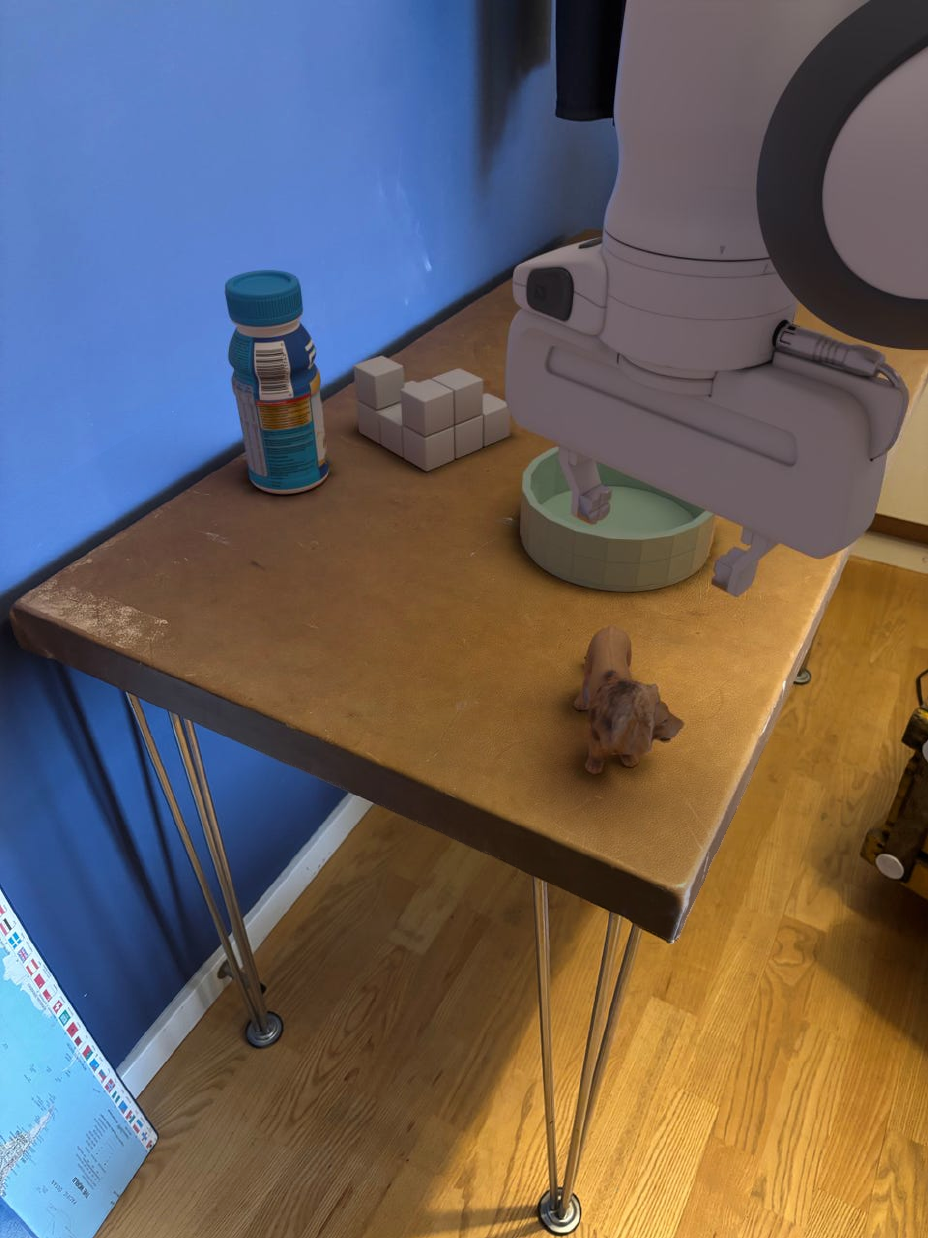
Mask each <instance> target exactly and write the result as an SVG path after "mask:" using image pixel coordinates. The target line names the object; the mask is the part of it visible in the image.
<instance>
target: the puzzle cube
mask: <svg viewBox="0 0 928 1238" xmlns="http://www.w3.org/2000/svg"><path fill="white" fill-rule="evenodd" d="M404 370H405V369H404V366H403V364H399V363H398V362H396V361H393V360H392V359H390V358H388V357H385V356H383V355H379V356H376V357H374V358H371V359H367V360H364V361H362V362H358V363H356V364H354V365H353V376H354V387H355V398H356V410H357V412H356V413H357V423H358V432H359V433H360V434H361V435H362V436H365V437H367V438H368V439H370V440H372V441H374V442H375V443H376V444H379V445H381V446H382V447H384V448H385V449H387V450H389V451H390V452H392V453H394V454H395V455H396V456H397V455H398V457H401V458H404V460H406V461H408V462H409V463H411V464H413V465H414V466H416V467H418V468H420V469H421V470H423V471H424V472H430V471H432V470H434V469H437V468H440V467H441V466H444V465H446V464H448V463H450V462H453V461H454V460H457V459H460V458H463V457H464V456H467V455H469V454H472V453H474V452H476V451H479V450H481V449H482V448H483V447H485V448H486V447H488V446H490V445H492V444H494V443H497V442H499V441H502V440H504V439H506V438H508V437H510V436H511V414H510V411H509V409H508V407H507V404H506V400H503V399H501V398H499V397H497V396H494V395H492V394H491V393H488V392H486V393H484V379H483V378H481V377H479V376H477V375H475V374H472V373H471V372H468V371H467V370H464V369H462V368H459V367H458V368H455V369H453V370H450V371H447V372H444V373H442V374H439V375H436V376H434V377H431V379H430V378H428V379H426V380H422V381H420V382H417V381H415V380H409V381H407V382H405V371H404Z"/></svg>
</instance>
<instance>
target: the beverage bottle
mask: <svg viewBox="0 0 928 1238" xmlns="http://www.w3.org/2000/svg"><path fill="white" fill-rule="evenodd" d="M224 295H225V302H226V306H227V311H228V315H229V318H230V321H231V322H232V324H233V325H235V326H236V327H235V329H234V332H233V334H232V336H231V339H230V341H229V344H228V345H229V346H228V353H227V358H228V359H227V360H228V363H229V365H230V366H231V367H232V369H233V372H232V374H231V379H230V381H231V389H232V392H233V395H234V397H235V402H236V408H237V412H238V417H239V422H240V428H241V434H242V439H243V444H244V445H243V446H244V449H245V455H246V461H247V471H248V476H249V479H250V481H251V483H252V484H253V485H254V486H255V487H256V488H258V489H259V490H262V491H263V492H267V493H271V494H276V495H291V494H296V493H297V494H299V493H302V492H306V491H309V490H312V489H314V488H316V487H317V486H319V485H320V484H322V483H323V482H324V481H325V480H326V478H327V477H328V474H329V472H330V464H329V463H330V462H329V457H328V449H327V440H326V431H325V423H324V422H325V421H324V412H323V402H322V394H321V386H322V385H321V384H322V380H321V379H322V378H321V373H320V370H319V368H318V367H317V365H316V364H315V359H316V356H317V348H316V346H315V342H314V340H313V339H312V337H311V334H310V333H309V332H308V330H307V328H306V327H305V326H304V325H303V323H301V321H300V320H301V319H302V317H303V312H304V306H303V296H302V295H303V294H302V289H301V284H300V281H299V278H298V277H297V275H294V274H293V273H291V272H287V271H283V270H275V269H261V270H252V271H246V272H242V273H239V274H235V275H234V276H232V277H231V278H228V280H227V281H226V282H225V285H224Z"/></svg>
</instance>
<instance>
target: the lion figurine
mask: <svg viewBox="0 0 928 1238" xmlns="http://www.w3.org/2000/svg"><path fill="white" fill-rule="evenodd" d="M632 656H633V652H632V642H631V639H630V636H629V635H628V633H627V632H626V631H625V630H624V629H620V628H618V627H617V626H616V625H613V624H612V625H611V624H610V625H608V626H606V627H603V628H601V629H599V630H598V631H597V632H595V633H594V635H593V636H592V638H591V639H590V642H589V644H588V646H587V650H586V653H585V656H584V657H583V659H584V666H583V667H584V668H583V681H582V685H581V689H580V691H579V694H578V696H577V698H575V700H574V701H573V707H574V708H575V709H576V710H578V711H587V710H588V711H587V720H588V725H589V727H588V732H587V737H588V739H587V740H588V751H589V754H588V758H587V760H586V762H585V765H584V768H585V770H586V771H587V773H590V774H592V775H596V774H601V773H602V772H603V768H604V764H605V758H604V753H603V749H606V751H608V753H609V754H611V755H613V756H614V755H618V756H619V758H620V760H621V762H622V764H623V765H625V766H626V767H628V768H629V767H630V768H633V767H635V766H637V765H639V763H640V761H641V757H643V756H644V755H646V754H649V752H651V750H652V748H653V742H654V740H656V741H660V742H661V743H663V744H668V743H671V739H674V738H676V737H677V735H678V734H679V733H680V731H681V730H682V729H684V726H685V722H684V721H683V720H682V719H681V718H679V717H677V716H676V715H674V714H673V713H672V712H671V711H670V709H669V706H668V704H667V703H666V702H664V701H662V700H661V693H660V692H659V686H658V685H657V683H652V684H647V683H644V682H641V681H639V680H633V676H632V673H631V671H630V667H631V664H632Z"/></svg>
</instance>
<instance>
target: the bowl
mask: <svg viewBox="0 0 928 1238" xmlns="http://www.w3.org/2000/svg"><path fill="white" fill-rule="evenodd" d="M558 447H559V445H557V446H554V447H550V448H549V449H547V450H546V451H545V452H543V453H540V455H538V456H536V457H535V458H533V459H532V460H531V462H530V463H529V464H528V466H527V467H526V468H525V470H523V473H522V477H521V491H520V492H521V494H520V517H519V519H520V521H519V536H520V542H521V544H522V546H523V549H524V550H525V552H526V554H527V555H528V556H529V558H531V560H532V561H533V562H534V563H535V564H537V566H539V567H540V568H542V569H543V570H544V571H546V572H548V573H549V574H551V575H553V576H554V577H557V578H559V579H561V580H563V581H565V582H568V583H571V584H573V585H578V586H580V587H584V588H588V589H593V590H599V591H606V592H619V593H620V592H621V593H631V592H645V591H653V590H658V589H662V588H666V587H670V586H673V585H676V584H678V583H680V582H682V581H684V580H686V579H688V578H690V577H691V576H693V575H694V574H696V572H698V571H699V570H700V569H701V568H702V567H703V566H704V565H705V563H706V562H707V560H708V558H709V556H710V552H711V550H712V549H711V548H712V545H713V543H714V538H715V535H716V529H717V524H718V517H719V516H718V515H715V514H713V513H711V512H709V511H706V510H704V509H702V508H700V507H697V506H695V505H693V504H691V503H689V502H686V501H684V500H682V499H680V498H677V497H675V496H673V495H671V494H668V493H666V492H664V491H662V490H659V489H657V488H655V487H653V486H650V485H648V484H646V483H644V482H642V481H639V480H637V479H635V478H633V477H630V476H628V475H626V474H624V473H621V472H619V471H617V470H615V469H613V468H610V467H608V466H606V465H604V464H601V463H599V462H597V461H595V462H596V466H597V469H598V473H599V477H600V480H601V484H602V485H604V486H606V487H608V488H610V489H612V496H611V500H610V501H609V504H610V511H609V514H608V515H607V517H606V518H605V519H603V520H600V521H597V524H595V525H591V524H589V523H587V522H584V521H582V520H580V519H579V518H577V517H575V516H573V515H571V504H572V491H571V490H570V487H569V485H568V482H567V480H566V477H565V475H564V473H563V470H562V468H561V465H560V463H559V460H558Z"/></svg>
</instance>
